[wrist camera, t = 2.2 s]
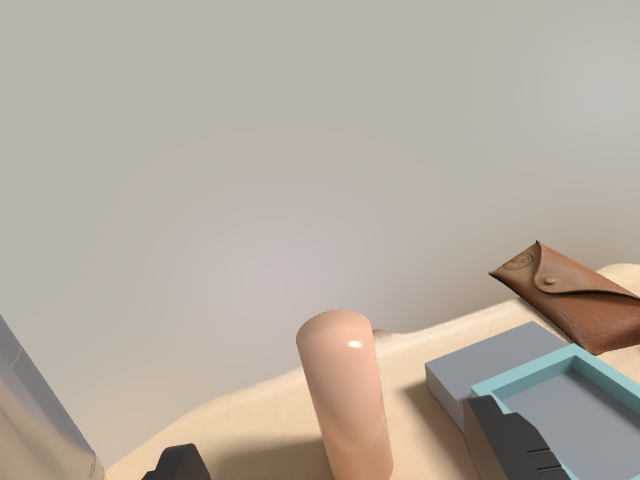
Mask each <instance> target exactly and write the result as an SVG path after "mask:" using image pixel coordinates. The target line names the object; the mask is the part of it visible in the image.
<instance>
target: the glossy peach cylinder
mask: <svg viewBox="0 0 640 480" xmlns="http://www.w3.org/2000/svg"><path fill="white" fill-rule="evenodd" d="M296 343H297V347H298V351H299V355H300V358H301V362H302V365H303V369H304V373H305V376H306V380H307V384H308V387H309V391H310V395H311V398H312V402H313V405H314V409H315V413H316V416H317V420H318V424H319V427H320V431H321V435H322V438H323V442H324V445H325V449H326V453H327V456H328V460H329V464H330V467H331V471H332V474H333V477H334V479H335V480H389V478H390V476H391V474H392V470H393V457H392V451H391V445H390V439H389V432H388V426H387V420H386V414H385V408H384V402H383V395H382V389H381V383H380V377H379V371H378V364H377V358H376V352H375V346H374V340H373V334H372V327H371V324H370V322H369V321H368V319H367V318H365V317H364V316H363V315H361V314H360V313H357V312H354V311H350V310H332V311H327V312H324V313H321V314H319V315H316V316H314V317H313V318H311V319H309V320H308V321H307V322H306V323H304V325H303V326H302V327H301V328H300V329H299V331H298V333H297V337H296Z"/></svg>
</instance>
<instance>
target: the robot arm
mask: <svg viewBox="0 0 640 480" xmlns="http://www.w3.org/2000/svg"><path fill="white" fill-rule="evenodd" d="M463 413H464V431H465V439H466V443H467V447H468V450H469V453H470V456H471V458H472V461H473V463H474V465H475V468H476V470H477V472H478V474H479V477H480V479H481V480H571V478H570V477H569V475H568V474H567V472H566V471H565V470H564V469H563V468H562V466H561V464H560V462H559V461H558V459H557V458H556V456H555V455H554V453H553V452H551V450H550V447H549V446H548V444H547V443H546V441H545V440H544V439H543V437H542V436H541V434H540V433H539V431H538V430H537V428H536V427H535V426H533V425H532V424H531V423H530V422H529V421H527V420H526V419H525V418H524V417H522V416H521V415H520V414H519V413H518V412H515V413H509V414H503V412H502V410H501V409H500V407H499V405H498V404H497V402H496V400H495V399H494V398H493V396H492V395H483V396H477V397H471V398H465V399H463ZM103 479H104V469H103V466H102V464H101V462H100V460H99V459H98V457H97V456H96V454H95V452H94V451H93V450H92V448H91V447H90V445H89V444H88V443H87V442H86V440H85V438H84V437H83V435H82V433H81V432H80V430H79V429H78V427H77V426H76V425H75V423H74V422H73V420H72V419H71V417H70V416H69V414H68V413H67V411H66V410H65V409H64V407H63V406H62V404H61V403H60V401H59V400H58V398H57V397H56V395H55V394H54V392H53V391H52V389H51V388H50V387H49V385H48V384H47V382H46V381H45V379H44V378H43V376H42V375H41V373H40V372H39V370H38V369H37V368H36V366H35V365H34V363H33V362H32V360H31V359H30V357H29V356H28V354H27V353H26V352H25V350H24V349H23V347H22V346H21V344H20V343H19V341H18V340H17V339H16V337H15V336H14V334H13V333H12V331H11V330H10V328H9V327H8V326H7V324H6V322H5V321H4V320H3V318H2V317H1V315H0V480H103ZM142 480H211V478H210V475H209V472H208V470H207V468H206V466H205V464H204V462H203V460H202V458H201V456H200V454H199V452H198V450H197V448H196V446H195V445H194V444H192V443H190V444H185V445H179V446H173V447H168V448H166V449H165V450H164V451H163V452H162V454H161V457H160V459H159V461H158V464H157V466H156V469H155V470H154V471H148V472H147V473H146V474H145V476H144V477H143V478H142Z"/></svg>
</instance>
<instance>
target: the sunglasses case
mask: <svg viewBox="0 0 640 480" xmlns="http://www.w3.org/2000/svg"><path fill="white" fill-rule="evenodd" d="M488 274H489V275H490V276H492V277H494V278H495V279H497V280H498V281H500V282H501V283H503V284H505V285H506V286H507V287H508V288H510V289H511V290H512V291H513V292H515V293H516V294H517V295H519V296H520V297H522V298H524V299H525V300H526V301H528V302H529V303H530V304H531V305H533V306H534V307H535V308H536V309H538V310H539V311H540V312H541V313H542V314H544V315H545V316H546V317H547V318H548V319H550V320H551V321H552V322H553V323H554V324H556V325H557V326H558V327H560V328H561V329H562V330H563V331H564V332H565V333H566V334H567V335H568V336H569V337H570V338H571V339H573V340H574V341H575V342H576V344H577V345H578V346H579V347H581V348H582V349H584V350H586V351H587V352H589V353H590V354H592V355H595V356H597V355H600V354H602V353H604V352H607V351H612V350H617V349H621V348H626V347H630V346H634V345H639V344H640V297H638V296H636V295H634V294H633V293H631V292H630V291H628V290H626V289H624V288H623V287H621V286H619V285H618V284H616V283H614V282H612V281H610V280H609V279H607V278H605V277H603V276H602V275H600V274H598V273H596V272H594V271H592V270H590V269H589V268H586V267H585V266H583V265H581V264H579V263H578V262H575V261H573V260H572V259H570V258H568V257H566V256H564V255H562V254H560V253H558V252H556V251H554V250H552V249H550V248H548V247H546V246H544V245H543V244H542V243H541V242H539V241H536V244H534V245H532V246H530V247H529V248H528V249H526V250H525V251H523V252H521V253H520V254H519V255H517V256H516V257H514V258H512V259H511V260H509V261H508V262H506V263H505V264H503V265H502V266H501V267H499V268H498V269H497V270H495V271H492V272H489V273H488Z"/></svg>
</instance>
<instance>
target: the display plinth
mask: <svg viewBox="0 0 640 480" xmlns="http://www.w3.org/2000/svg"><path fill="white" fill-rule="evenodd" d="M425 370H426V380H427V388H428V389H429V390H430V392H431V393H432V394H433V395H434V397H435V398H436V399H437V401H438V402H439V403H440V404H441V406H442V407H443V408H444V410H445V411H446V412H447V413H448V415H449V416H450V417H451V419H452V420H453V421H454V422H455V424H456V425H457V426H458V428H459V429H460V430H461V431H462V433H463V434H464V435H465V431H464V413H463V399H465V398H471V397H477V396H483V395H492V396H493V398H494V399H495V400H496V402H497V404H498V405H499V407H500V409H501V410H502V412H503V414H509V413H515V412H518V413H519V414H520V415H521V416H522V417H524V418H525V419H526V420H527V421H529V422H530V423H531V424H532V425H533V426H535V427H536V428H537V430H538V431H539V433H540V434H541V436H542V437H543V439H544V440H545V441H546V443H547V444H548V446H549V447H550V450H551V452H553V453H554V455H555V456H556V458H557V459H558V461H559V462H560V464H561V466H562V468H563V469H564V470H565V471H566V472H567V474H568V475H569V477H570V478H571V480H640V385H638V384H637V383H635V382H634V381H632V380H631V379H629V378H628V377H626V376H624V375H623V374H621V373H620V372H618V371H617V370H615V369H614V368H612V367H610V366H609V365H607V364H606V363H604V362H603V361H601V360H600V359H598V358H596V357H595V356H593V355H592V354H590V353H589V352H587V351H586V350H584V349H582V348H581V347H579V346H578V345H576V344H575V343H573V344H570V345H569V344H567V343H566V342H564V341H563V340H561V339H560V338H558V337H557V336H555V335H554V334H552V333H551V332H549V331H548V330H546V329H545V328H543V327H542V326H540V325H538V324H537V323H535V322H534V321H531V322H528V323H526V324H523V325H521V326H518V327H516V328H513V329H511V330H508V331H506V332H503V333H500V334H498V335H495V336H493V337H490V338H488V339H485V340H483V341H480V342H478V343H475V344H473V345H470V346H468V347H465V348H463V349H460V350H457V351H455V352H452V353H450V354H447V355H445V356H442V357H440V358H437V359H435V360H432V361H430V362H427V363H425Z"/></svg>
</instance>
